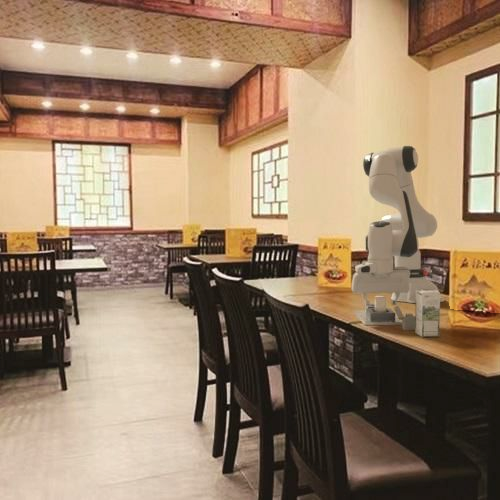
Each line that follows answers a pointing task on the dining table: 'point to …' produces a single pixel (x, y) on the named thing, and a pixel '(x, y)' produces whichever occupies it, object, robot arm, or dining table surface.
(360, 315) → the fitting board
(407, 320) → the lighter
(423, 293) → the syrup box
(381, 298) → the white rounded cylinder
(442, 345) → the dining table surface
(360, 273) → the robot arm
